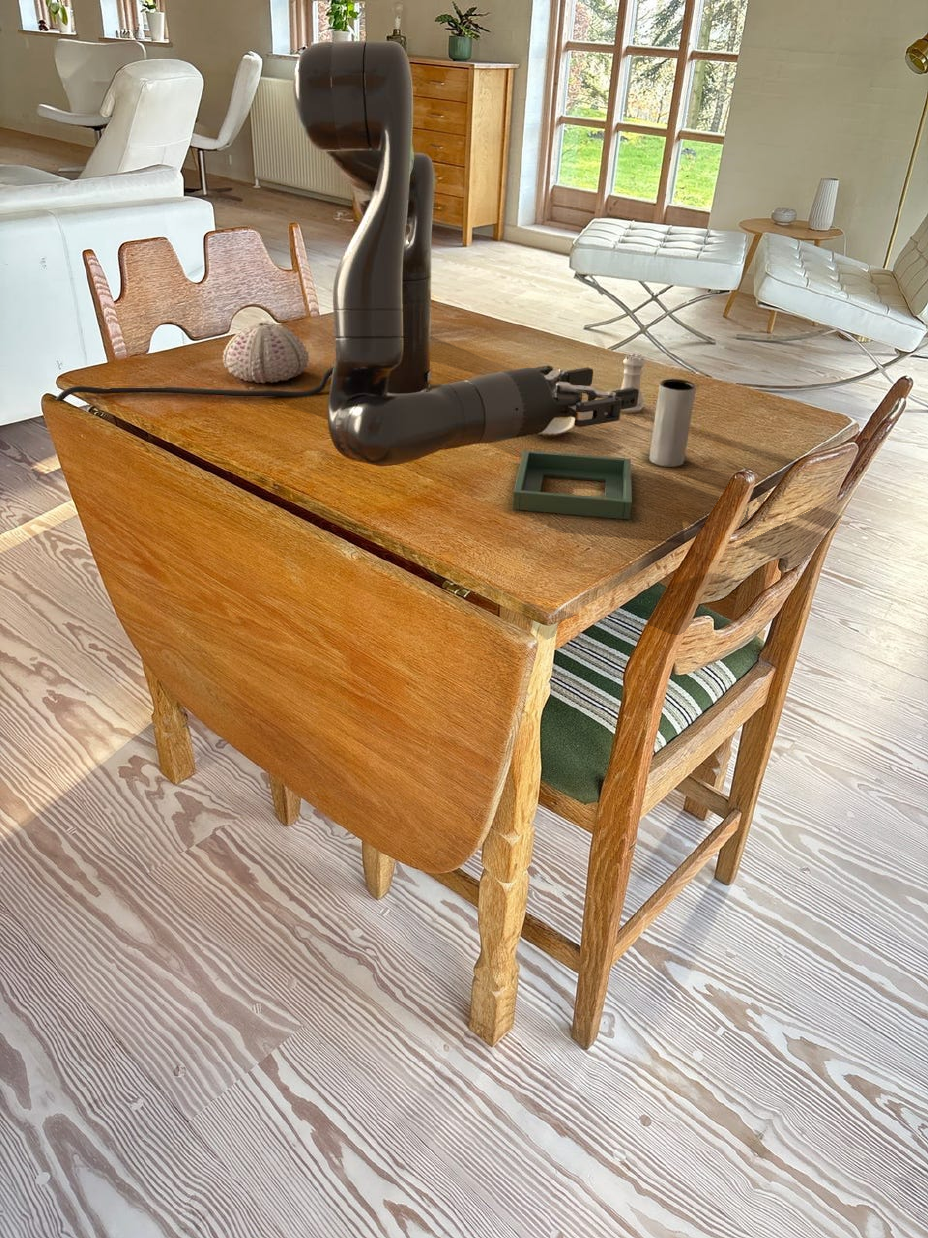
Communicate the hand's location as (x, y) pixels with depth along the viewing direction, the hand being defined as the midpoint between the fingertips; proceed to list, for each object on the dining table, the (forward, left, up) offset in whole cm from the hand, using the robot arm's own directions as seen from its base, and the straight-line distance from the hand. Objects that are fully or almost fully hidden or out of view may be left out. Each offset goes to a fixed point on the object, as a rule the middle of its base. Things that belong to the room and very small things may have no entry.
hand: (612, 386), depth 115 cm
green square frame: (-3, -6, -12) cm, 13 cm away
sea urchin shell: (-53, +30, -12) cm, 62 cm away
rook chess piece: (+4, +27, -12) cm, 30 cm away
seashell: (-7, +14, -12) cm, 20 cm away
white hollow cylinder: (+8, +7, -12) cm, 16 cm away
